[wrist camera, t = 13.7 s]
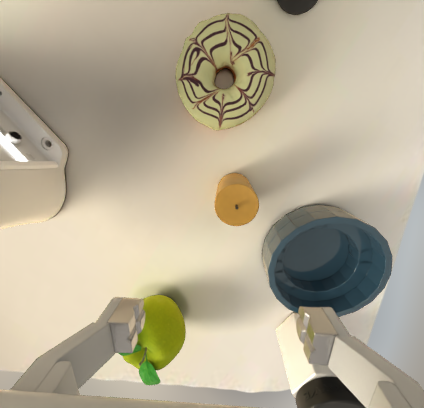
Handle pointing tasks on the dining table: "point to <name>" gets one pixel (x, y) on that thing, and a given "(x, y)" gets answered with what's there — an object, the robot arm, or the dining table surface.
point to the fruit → (157, 338)
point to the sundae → (296, 5)
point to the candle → (236, 200)
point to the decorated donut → (231, 59)
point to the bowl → (326, 260)
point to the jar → (310, 374)
